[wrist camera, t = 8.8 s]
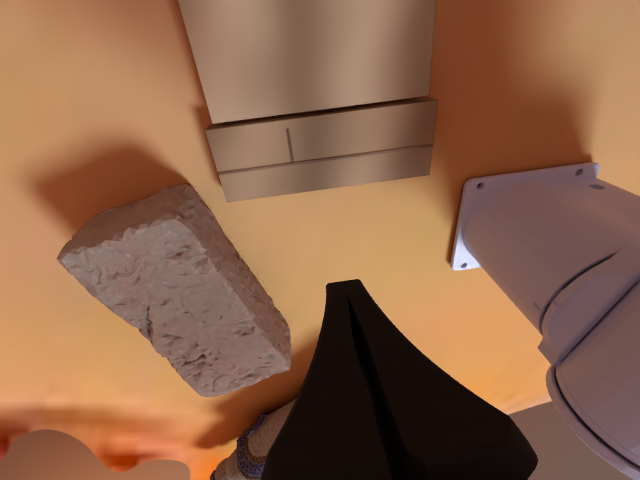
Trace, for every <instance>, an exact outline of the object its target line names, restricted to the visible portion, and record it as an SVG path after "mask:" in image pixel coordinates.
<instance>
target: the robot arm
mask: <svg viewBox="0 0 640 480" xmlns="http://www.w3.org/2000/svg"><path fill="white" fill-rule="evenodd" d="M599 169H600V165H599V164H597V163H595V162H589V163H581V164H574V165H567V166H559V167H552V168H545V169H537V170H530V171H523V172H515V173H508V174H501V175H493V176H486V177H479V178H472V179H469V180H468V181H466V183H465V184H464V188H463V194H462V200H461V205H460V211H459V217H458V223H457V228H456V234H455V240H454V245H453V251H452V257H451V262H450V267H451V268H452V269H453V270H455V271H458V270H465V269H472V268H478V267H482V268H483V269H484V270H485V271H486V272H487V273H488V275H489V276H490V277H491V278H492V279H493V280H494V281H495V282H496V284H497V285H498V286H499V287H500V288H501V289H502V290H503V292H504V293H505V294H506V295H507V296H508V297H509V298H510V299H511V301H512V302H513V303H514V304H515V305H516V306H517V307H518V309H519V310H520V311H521V312H522V313H523V314H524V315H525V316H526V318H527V319H528V320H529V321H530V322H531V323H532V324H533V325H534V327H535V328H536V329H537V330H538V331H539V332H540V333H541V335H542V336H543V339H542V341H541V343H540V345H539V346H538V349H539V350H540V352H541V353H542V354H543V355H544V356H545V358H546V359H547V360H548V361H549V362H550V364H551V366H550V367H549V369H548V371H547V373H546V386H547V389H548V392H549V395H550V397H551V399H552V401H553V403H554V405H555V407H556V408H557V410H558V411H559V413H560V414H561V416H562V417H563V419H564V420H565V421H566V423H567V424H568V425H569V427H570V428H571V429H572V430H573V431H574V433H576V435H577V436H578V437H579V438H580V439H581V440H582V441H583V442H584V443H585V444H586V445H587V446H588V447H590V449H592V450H593V451H594V452H595V453H596V454H598V455H599V456H600V457H601V458H603V459H604V460H605V461H607V462H608V463H609V464H611V465H612V466H614V467H615V468H616V469H618V470H619V471H621V472H623V473H624V474H626V475H627V476H629V477H631V478H632V479H634V480H640V196H638V195H635V194H633V193H631V192H628V191H626V190H624V189H621V188H619V187H617V186H614V185H612V184H610V183H607V182H605V181H602V180H600V179H598V178H596V177H597V174H598V172H599ZM577 170H578V171H577ZM576 171H577V172H576ZM479 183H481V185H480V186H479V187H477V185H478V184H479ZM463 263H464V264H463ZM462 264H463V265H462ZM537 463H538V459H537V455H536V454H535V452H534V450H533V449H532V447H531V445H530V444H529V442H528V441H527V439H526V438H525V436H524V435H523V434H522V433H521V431H520V430H519V428H518V427H517V426H516V424H515V423H514V422H513V420H512V419H511V418H510V417H509V416H508V415H506V414H505V413H503V412H501V411H500V410H498V409H497V408H495V407H494V406H492V405H490V404H489V403H487V402H486V401H484V400H483V399H481V398H480V397H478V396H477V395H475V394H474V393H473V392H471V391H470V390H468V389H467V388H466V387H464V386H463V385H461V384H460V383H459V382H457V381H456V380H455V379H453V378H452V377H451V376H450V375H448V374H447V373H446V372H444V371H443V370H442V369H441V368H439V367H438V366H437V365H436V364H434V363H433V362H432V361H431V360H430V359H429V358H427V357H426V356H425V355H424V354H423V353H422V352H421V351H419V350H418V349H417V348H416V347H415V346H414V345H413V344H412V343H411V342H410V341H409V340H408V339H407V338H406V337H405V336H404V335H403V334H402V333H401V332H400V331H399V330H398V329H397V328H396V327H395V326H394V324H393V323H392V322H391V321H390V320H389V319H388V318H387V316H386V315H385V314H384V313H383V312H382V310H381V309H380V308H379V307H378V305H377V304H376V303H375V301H374V300H373V299H372V297H371V296H370V295H369V293H368V292H367V290H366V289H365V287H364V285H363V284H362V282H361V281H360V280H359V279H355V280H348V281H341V282H334V283H328V284H327V285H326V305H325V312H324V318H323V323H322V328H321V331H320V335H319V339H318V343H317V346H316V350H315V353H314V356H313V359H312V362H311V365H310V367H309V370H308V372H307V375H306V377H305V380H304V382H303V385H302V387H301V390H300V392H299V394H298V396H297V398H296V400H295V402H294V405H293V407H292V409H291V411H290V413H289V415H288V417H287V419H286V421H285V423H284V425H283V426H282V428H281V430H280V432H279V433H278V435H277V437H276V439H275V441H274V442H273V444H272V446H271V448H270V450H269V451H268V454H267V458H266V461H265V465H264V468H263V472H262V476H261V480H527V479H528V477H530V475H531V474H532V472H533V471H534V470H535V468H536V465H537Z"/></svg>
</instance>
